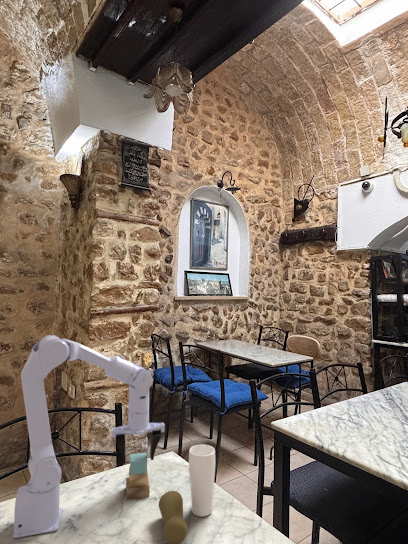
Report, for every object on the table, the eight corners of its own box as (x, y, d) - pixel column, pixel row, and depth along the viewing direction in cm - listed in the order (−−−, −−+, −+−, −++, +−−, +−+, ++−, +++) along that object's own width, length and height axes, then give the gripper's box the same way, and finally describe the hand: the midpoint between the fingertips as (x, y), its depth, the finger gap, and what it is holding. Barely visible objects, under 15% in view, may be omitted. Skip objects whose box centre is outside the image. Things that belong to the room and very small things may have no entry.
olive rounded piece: (175, 518, 83) (182, 554, 72) (154, 510, 82) (157, 545, 71) (187, 495, 84) (195, 527, 73) (165, 487, 83) (170, 518, 72)
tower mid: (128, 487, 90) (129, 475, 91) (129, 477, 95) (129, 466, 96) (147, 485, 91) (147, 473, 92) (146, 475, 96) (147, 464, 97)
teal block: (130, 475, 91) (130, 461, 91) (130, 466, 95) (130, 454, 96) (147, 473, 92) (147, 460, 92) (146, 465, 96) (146, 452, 97)
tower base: (126, 501, 89) (127, 489, 89) (126, 488, 95) (126, 477, 95) (149, 497, 91) (149, 486, 91) (147, 485, 96) (147, 474, 97)
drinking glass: (197, 523, 80) (198, 458, 81) (183, 508, 86) (184, 448, 87) (220, 513, 84) (220, 451, 85) (205, 499, 89) (205, 441, 90)
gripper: (112, 417, 89) (111, 471, 88) (166, 412, 93) (166, 463, 92) (112, 409, 95) (111, 458, 95) (162, 404, 99) (162, 452, 99)
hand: (138, 460), depth 94 cm, fingers open, 7 cm apart
